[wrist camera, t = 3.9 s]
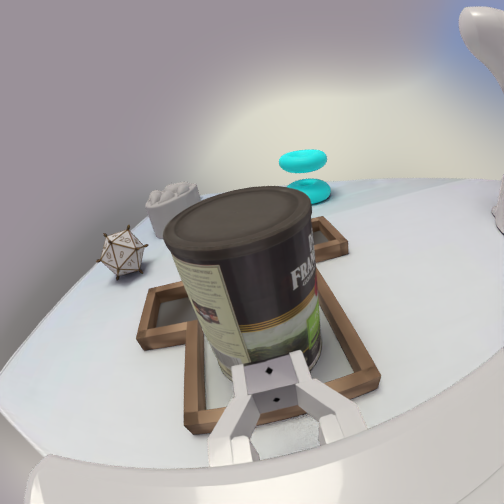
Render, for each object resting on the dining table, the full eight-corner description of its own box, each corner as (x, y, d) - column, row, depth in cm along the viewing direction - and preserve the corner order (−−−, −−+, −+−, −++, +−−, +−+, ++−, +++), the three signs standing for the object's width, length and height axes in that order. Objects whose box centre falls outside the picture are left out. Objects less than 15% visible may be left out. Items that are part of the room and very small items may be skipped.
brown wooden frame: (312, 215, 49) (311, 205, 48) (433, 361, 18) (439, 347, 17) (167, 251, 48) (163, 241, 47) (131, 437, 18) (119, 427, 17)
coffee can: (324, 309, 28) (313, 179, 21) (316, 394, 19) (305, 243, 13) (233, 309, 31) (198, 193, 24) (202, 383, 23) (133, 253, 16)
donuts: (273, 160, 50) (281, 151, 58) (282, 208, 55) (288, 192, 63) (326, 155, 47) (325, 146, 55) (331, 205, 51) (330, 189, 60)
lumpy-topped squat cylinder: (209, 210, 63) (200, 175, 58) (185, 237, 52) (171, 196, 48) (172, 214, 66) (162, 182, 62) (145, 240, 55) (131, 203, 51)
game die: (146, 283, 47) (159, 230, 46) (131, 295, 39) (145, 233, 38) (105, 268, 46) (116, 217, 45) (84, 278, 38) (96, 217, 37)
